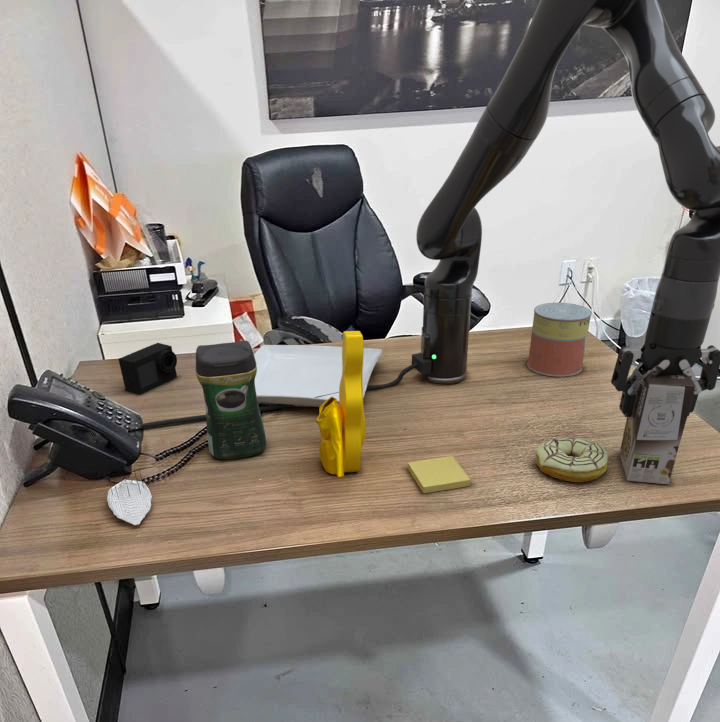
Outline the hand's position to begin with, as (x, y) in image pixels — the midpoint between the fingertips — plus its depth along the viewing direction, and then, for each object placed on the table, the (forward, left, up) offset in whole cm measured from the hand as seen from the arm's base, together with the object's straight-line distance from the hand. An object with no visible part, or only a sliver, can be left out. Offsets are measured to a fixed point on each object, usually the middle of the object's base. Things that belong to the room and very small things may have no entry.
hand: (654, 414), depth 98 cm
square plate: (-55, +34, -10) cm, 66 cm away
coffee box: (0, 0, -10) cm, 10 cm away
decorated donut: (-11, 0, -10) cm, 15 cm away
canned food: (-3, +42, -10) cm, 43 cm away
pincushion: (-78, -9, -10) cm, 79 cm away
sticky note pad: (-32, -2, -9) cm, 34 cm away
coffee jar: (-65, +8, -10) cm, 67 cm away
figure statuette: (-47, +2, -10) cm, 48 cm away
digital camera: (-87, +36, -10) cm, 95 cm away
